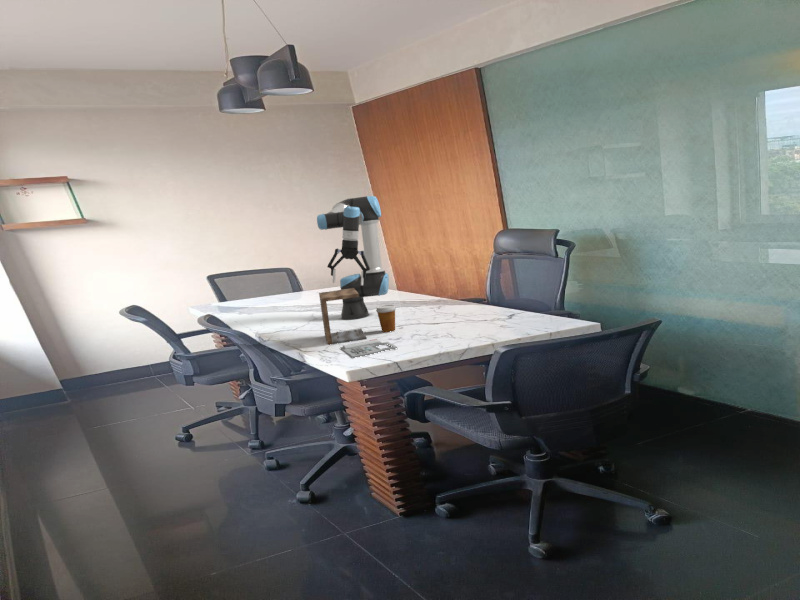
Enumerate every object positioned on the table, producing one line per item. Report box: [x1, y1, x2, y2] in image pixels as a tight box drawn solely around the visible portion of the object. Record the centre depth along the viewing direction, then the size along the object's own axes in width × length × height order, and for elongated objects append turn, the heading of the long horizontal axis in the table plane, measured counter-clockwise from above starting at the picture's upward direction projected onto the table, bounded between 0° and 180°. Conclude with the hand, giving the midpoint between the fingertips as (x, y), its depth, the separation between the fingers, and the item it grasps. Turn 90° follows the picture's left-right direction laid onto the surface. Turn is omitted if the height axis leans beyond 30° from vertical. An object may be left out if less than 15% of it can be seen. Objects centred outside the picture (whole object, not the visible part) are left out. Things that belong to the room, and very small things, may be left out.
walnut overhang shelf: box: [318, 288, 368, 346], centre depth 319 cm, size 18×22×22 cm
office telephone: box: [339, 338, 398, 359], centre depth 291 cm, size 23×3×20 cm
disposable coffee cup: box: [375, 304, 396, 333], centre depth 323 cm, size 10×10×12 cm
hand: (347, 283), depth 324 cm, fingers open, 13 cm apart
